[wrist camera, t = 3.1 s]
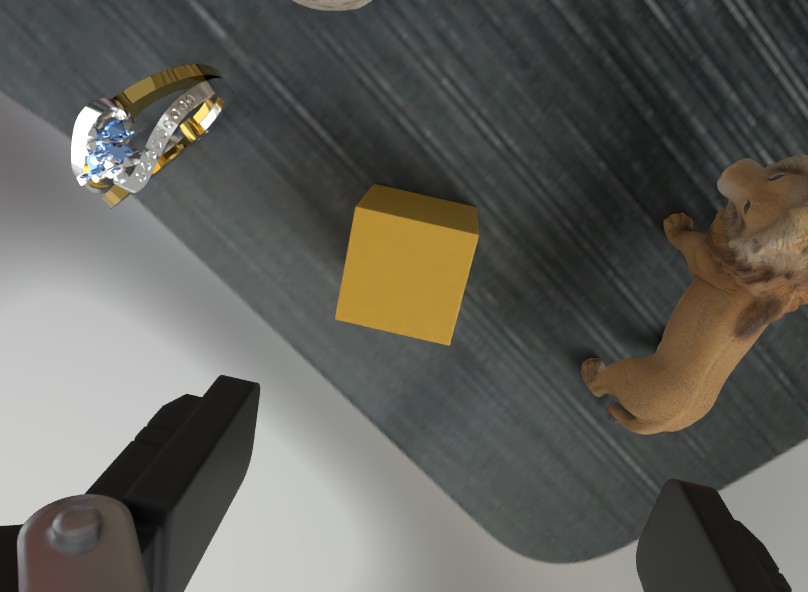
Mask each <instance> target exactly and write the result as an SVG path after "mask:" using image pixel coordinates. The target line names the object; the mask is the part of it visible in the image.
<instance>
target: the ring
mask: <svg viewBox="0 0 808 592" xmlns="http://www.w3.org/2000/svg"><path fill="white" fill-rule="evenodd" d="M189 87H192V88H191V89H189V90H188V91H186V92H185V93H184V94H182V95H181V96H180V97H179V98H178V99H177V100H176V101H175V102H174V103H173V104H172V105H171V106H170V107H169V108H168V109H167V111H166V112H165V113H164V114H163V116H162V117H161V119H160V120H159V122H158V123H157V125H156V127H155V128H154V130H153V132H152V134H151V136H150V138H149V140H148V142H147V144H146V146H145V148H144V151H143V153H139V151H138V150H137V149H136V148H135V147H134V141H135V136H136V135H137V134H138V133H141V132H142V131H143V130H144V128H145V125H144V124H143V123H140V122H138V121H134V119H133V118H135V117H136V116H137V115H138V114H139V113H140V112H142V111H143V110H144V109H145V108H147V107H148V106H150V105H151V104H152V103H154V102H156V101H157V100H159V99H161V98H162V97H164V96H166V95H168V94H171V93H173V92H176V91H178V90H181V89H185V88H189ZM233 99H234V91H233V90H232V89H231V87H230V86H229V84H228V83H227V82H226V80H225V79H224V78H223V77H222V76H221V74H220V73H219V72H218V71H217V70H216V69H215V68H213V67H211V66H208V65H203V64H190V65H183V66H178V67H174V68H171V69H168V70H165V71H162V72H159V73H157V74H155V75H152V76H150V77H148V78H146V79H144V80H142V81H140V82H138V83H136V84H134V85H133V86H131V87H129V88H128V89H126V90H124V91H123V92H121V93H120V94H118V95H117V96H115V97H114V98H113V99H109V98H101V99H97V100H94V101H92V102H91V103H89V104H88V105H87V106H86V107H85V108H84V109H83V110H82V111H81V113H80V114H79V116H78V118H77V120H76V123H75V126H74V131H73V137H72V152H71V163H72V170H73V172H74V175H75V176H76V177H77V179H78V181H79V183H80V185H81V186H82V185H84V186H85V187H86V188H87V189H88V190H89V191H91V192H93V193H105V192H107V193H106V194H105V195H104V197H103V198H102V200H103V201H104V202H105V203H106V204H107V205H108V206H109V207H110V208H111V209H112V208H113V207H114V206H116V205H117V204H118V203H119V202H121V201H122V200H124V199H125V198H126V197H128V196H129V195H130V194H132V193H136V192H138V191H140V190H141V189H142V188H143V187H144V186H145V184H146V183H147V182H148V181H149V180H150V179H151V178H152V177H154V176H155V175H156V174H158V173H159V172H160V171H161V170H163V169H164V168H165V167H166V166H168V165H169V164H170V163H171V162H173V161H174V160H175V159H176V158H177V157H179V156H180V155H181V154H182V153H183V152H185V151H186V150H187V149H188V148H189V147H190V146H192V145H193V144H194V143H195V142H196V141H200V140H201V139H202V138H204V137H205V136H206V135H207V134H208V133H209V132H210V129H211V128H212V127H213V126H214V125H215V124H216V123H217V122H218V120H219V119H220V118H221V117H222V116H223V115H224V113H225V112H226V111H227V109H228V108H229V107H230V105H231V103H232V101H233ZM204 101H205V103H204V104H203V106H202V107H201V109H200V110H199V111H198V112H197V113H196V114H195V115H194V117H193V116H192V117H190V118H189V119H187V120H186V121H185V122H184V123H183V124H182V125H181V126H180V127H179V128H180V130H179V131H177V132H176V133H175V134H174V135H173V136H172V137H171V135H172V133H173V132H174V130H175V129H176V127H177V126H178V124H179V123H180V122H181V121H182V119H183V118H184V117H185V116H186V115H187V114H188V113H189V112H190V111H191V110H192V109H193V108H195V107H196V106H197V105H199V104H201V103H202V102H204ZM110 117H115V118H117V120H116V121H113V122H111V123H110V124H108V125H107V126H106V127H105V128H101V127H102V125H103V123H104V122H105V121H106V120H107V119H108V118H110ZM98 139H100V140H98ZM114 140H115V141H114Z"/></svg>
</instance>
